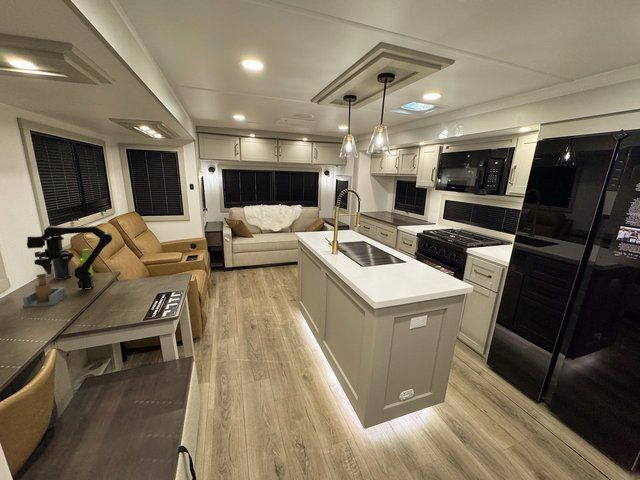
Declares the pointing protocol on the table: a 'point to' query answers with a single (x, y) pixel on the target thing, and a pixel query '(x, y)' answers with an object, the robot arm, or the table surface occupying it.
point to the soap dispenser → (84, 257)
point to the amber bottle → (43, 289)
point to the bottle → (58, 266)
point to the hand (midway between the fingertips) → (56, 271)
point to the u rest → (53, 299)
